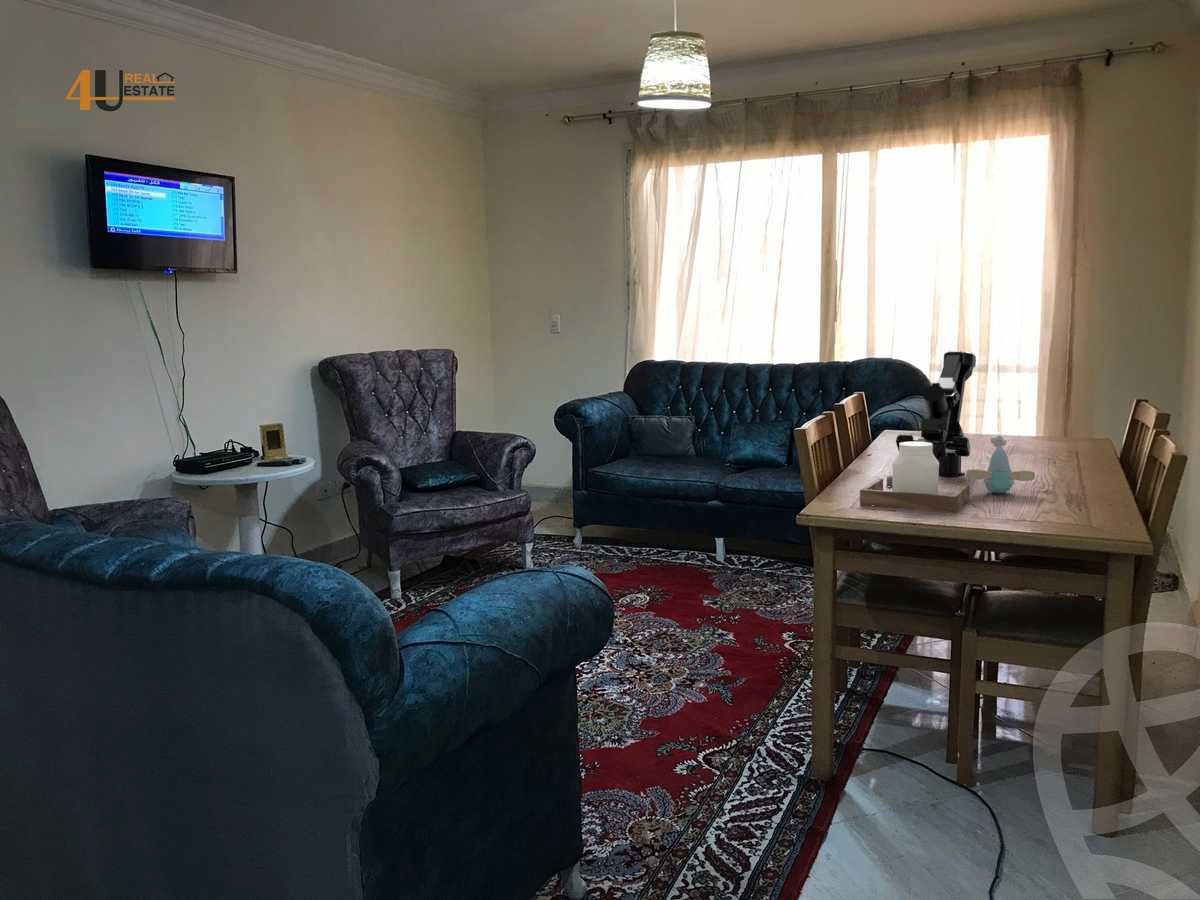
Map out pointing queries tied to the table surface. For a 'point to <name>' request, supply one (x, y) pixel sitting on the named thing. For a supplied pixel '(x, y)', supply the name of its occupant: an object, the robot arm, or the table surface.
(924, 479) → the jar
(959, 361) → the robot arm
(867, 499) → the wooden tray
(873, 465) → the table surface
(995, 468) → the blue winged piece
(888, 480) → the wheel
